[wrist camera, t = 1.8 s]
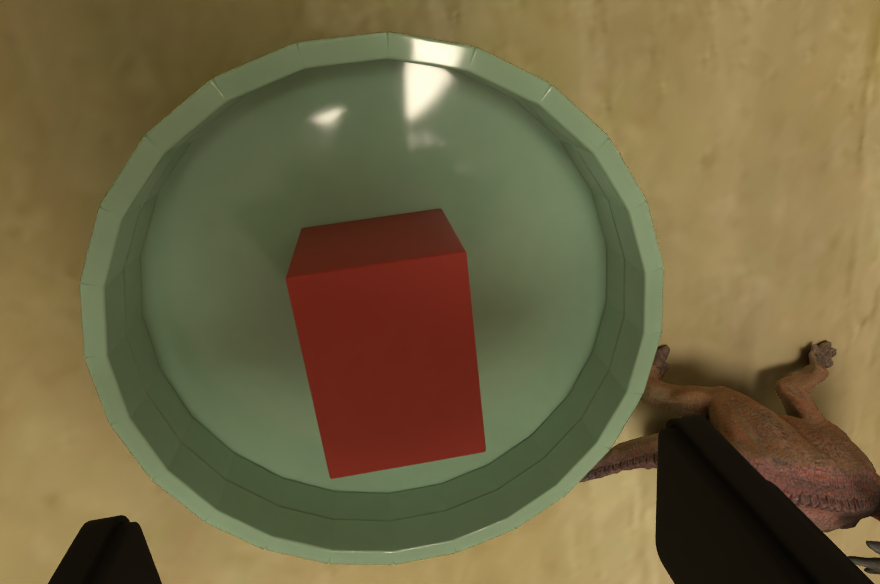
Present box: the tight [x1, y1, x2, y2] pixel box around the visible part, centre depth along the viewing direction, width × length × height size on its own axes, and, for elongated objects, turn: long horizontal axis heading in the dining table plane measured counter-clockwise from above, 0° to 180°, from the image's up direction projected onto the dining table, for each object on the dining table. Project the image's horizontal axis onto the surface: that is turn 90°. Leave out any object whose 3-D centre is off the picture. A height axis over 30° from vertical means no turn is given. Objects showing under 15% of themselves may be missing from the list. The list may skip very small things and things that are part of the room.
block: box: [285, 209, 486, 479], centre depth 18 cm, size 6×4×4 cm
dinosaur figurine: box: [580, 342, 880, 574], centre depth 19 cm, size 14×6×9 cm, turn 82°
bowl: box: [80, 32, 664, 565], centre depth 19 cm, size 16×16×4 cm
